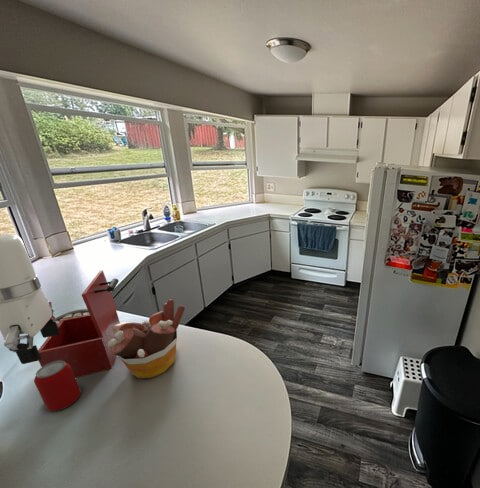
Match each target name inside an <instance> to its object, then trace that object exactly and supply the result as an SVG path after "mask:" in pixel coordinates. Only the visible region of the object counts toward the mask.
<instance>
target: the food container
mask: <svg viewBox="0 0 480 488" xmlns="http://www.w3.org/2000/svg"><path fill="white" fill-rule="evenodd" d="M84 315H90V314H89V311H88V309H87V308H83V309H81V308H80V309H75V310H72V311H68V312H64V313H63V314H61V315H58V316H56V317H55V321H56V324H57V325H58V324H59V323H60V321H61V320H63V319H68V318H74V317H79V316H84ZM53 322H54V321H53Z"/></svg>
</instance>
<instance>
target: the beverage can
mask: <svg viewBox="0 0 480 488" xmlns="http://www.w3.org/2000/svg"><path fill="white" fill-rule="evenodd" d="M33 382H34V385H35V387H36V389H37V391H38V394H39V395H40V397H41V400H42V401H43V404H44V405H45V408H46V409H47V410H48V411H50V412H56V411H60V410H63V409H65V408H67V407H69V406H71V405H72V404H74V403H76V401H77V400H78V399H79V397H80V396H81V393H82V391H81V388H80V385H79V383H78V380H77V378H75V375H74V373H73V370H72V368H71V366H70V364H68V363H65V362H64V361H54V362H51V363H49V364H46V365H45V366H43V367H41V366H40V368H39V369H38V370H36V373H35V376H34V379H33Z"/></svg>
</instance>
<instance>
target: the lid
mask: <svg viewBox="0 0 480 488" xmlns="http://www.w3.org/2000/svg"><path fill="white" fill-rule="evenodd" d="M119 282H120V281H119V279H118V278H112V279H111V280H108V281H107V278H106V275H105V272H104V270H99V271H98V273H97V274H96V275H95V276H94V277H93V279H92V280H91V282H90V283H89V284H88V285H87V287H86V288H85V289H84V291H83V292H82V293H81V297H82V300H83V302H84V304H85V307H86V309H88V311H89V314H90V316H91V319H92V321H93V323H94V326H95V328H96V330H97V333H98V335H99V337H100V338H102V337H103V336H104V334H105V332H106V330H107V328H108V326H109V324H110V321H111V319H112V317H113V315H114V313H115V311H117V309H118V307H117V304H116V302H115V299H114V297H113V294H112V292H114V290H115V289H116V287H117V285H118V284H119Z"/></svg>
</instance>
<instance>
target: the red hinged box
mask: <svg viewBox="0 0 480 488" xmlns="http://www.w3.org/2000/svg"><path fill="white" fill-rule="evenodd" d="M117 311H118V310H116V311H115V313H114V315H113V317H112V319H111V321H110V324H109V326H108V328H107V330H106V332H105V334H104V336H103V337H102V338H100V337H99V335H98V333H97V330H96V328H95V326H94V323H93V321H92V319H91V316H90V315H84V316H79V317H74V318H68V319H63V320H61V321H60V323H59V324H58V325H57V326H58V329H59V331H60V333H59V335H55V336H50V337H46V338H45V340H44V342H43V343H42V344H41V346H39V348H38V351H39V353H40V355H41V359H40V360H39V361H38V362H39V365H40V368H41V367H43V366H45V365H46V364H49V363H51V362H54V361H64V362H65V363H68V364H70V366H71V368H72V370H73V373H74V375H75V378H76V379H77V378H81V377H84V376H88V375H92V374H96V373H100V372H104V371H107V370H111V369H113V366H114V364H115V360H116V359H117V355H115V354H113V353H112V352H111V347H109V346H108V342H109V341H110V340H112V339H114V338H115V333H114V332H113V330H112V327H113V326H114V325H116V324H119V323H121V322H120V319H119V315H118V312H117Z"/></svg>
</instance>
